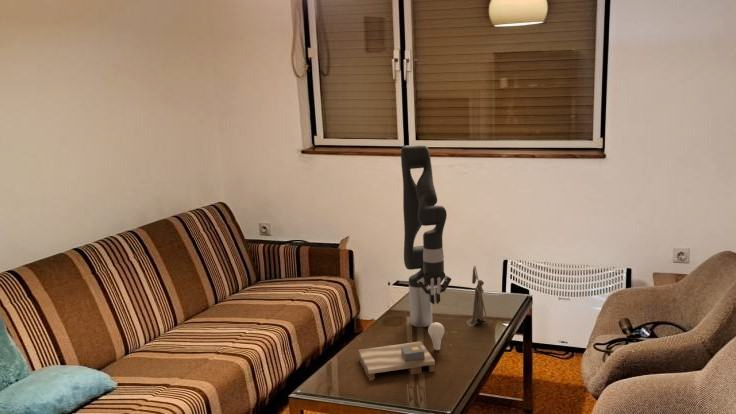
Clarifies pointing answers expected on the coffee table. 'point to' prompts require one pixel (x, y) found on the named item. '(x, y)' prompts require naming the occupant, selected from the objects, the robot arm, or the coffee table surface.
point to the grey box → (412, 353)
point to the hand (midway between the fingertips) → (434, 303)
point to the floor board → (392, 360)
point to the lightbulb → (436, 334)
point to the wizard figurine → (477, 301)
